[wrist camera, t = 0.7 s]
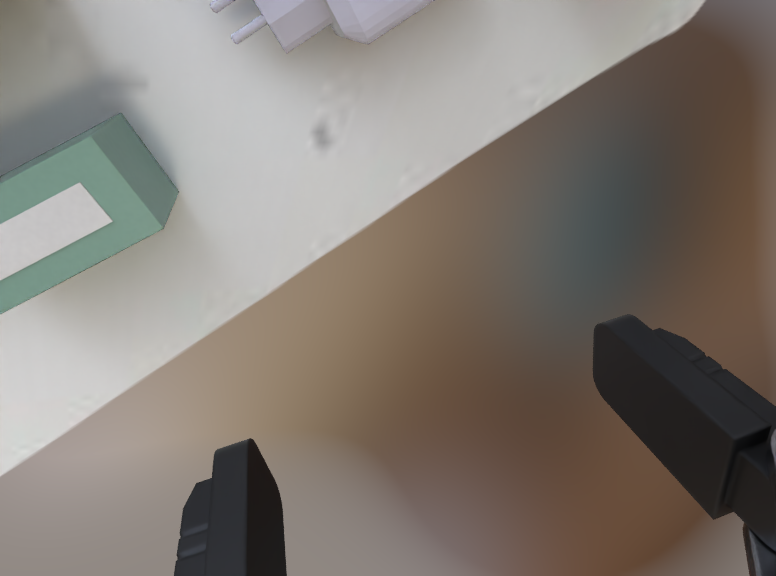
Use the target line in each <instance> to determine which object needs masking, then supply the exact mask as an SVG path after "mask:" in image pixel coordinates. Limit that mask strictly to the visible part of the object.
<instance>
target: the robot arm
mask: <svg viewBox="0 0 776 576" xmlns="http://www.w3.org/2000/svg"><path fill="white" fill-rule="evenodd" d="M593 378H594V382H595V384H596V387H597V389H598V391H599V393H600V394H601V396H602V397H603V399H604V400H605V401H606V402H607V403H608V404H609V405H610V406H611V408H612V409H613V410H614V411H615V412H616V413H617V414H618V415H619V416H620V417H621V419H622V420H623V421H624V422H625V423H626V424H627V425H628V426H629V427H630V428H631V430H632V431H633V432H634V433H635V434H636V435H637V436H638V437H639V438H640V439H641V441H642V442H643V443H644V444H645V445H646V446H647V447H648V448H649V449H650V450H651V452H652V453H653V454H654V455H655V456H656V457H657V458H658V459H659V460H660V461H661V462H662V464H663V465H664V466H665V467H666V468H667V469H668V470H669V471H670V472H671V474H672V475H673V476H674V477H675V478H676V479H677V480H678V481H679V482H680V483H681V484H682V486H683V487H684V488H685V489H686V490H687V491H688V492H689V493H690V494H691V496H692V497H693V498H694V499H695V500H696V501H697V502H698V503H699V504H700V505H701V507H702V508H703V509H704V510H705V511H706V512H707V513H708V514H709V515H710V516H711V517H712V519H716V518H719V517H721V516H724V515H726V514H729V513H731V512H735V513H736V514H737V515H738V516H739V517H740V518H741V519H742V521H744V525H743V538H744V543H745V550H746V556H747V562H748V569H749V575H750V576H776V406H774V405H773V404H772V403H770V402H769V401H768V400H766V399H765V398H764V397H762V396H761V395H760V394H758V393H757V392H756V391H754V390H753V389H752V388H750V387H749V386H748V385H746V384H745V383H744V382H742V381H741V380H740V379H738V378H737V377H736V376H734V375H733V374H732V373H730V372H729V371H728V370H726V369H722V367H721V365H720V364H718V363H717V362H716V361H715V360H713V359H712V358H710V357H709V356H708V357H706V355H705V353H704V352H702V351H701V350H700V349H699V348H697V347H696V346H695V345H693V344H692V343H690V342H689V341H688V340H687V339H685V338H683V337H680V336H678V335H676V334H673V333H671V332H668V331H666V330H663V329H661V328H658V329H655V330H652V329H650V328H649V327H648V326H646V325H645V324H644V323H643V322H641V321H640V320H639V319H638V318H636V317H635V316H633V315H630V314H627V315H624V316H621V317H618V318H615V319H612V320H609V321H606V322H603V323H600V324H597V325H596V326H595V329H594V347H593ZM180 536H181V539H179V543H178V550H177V557H178V560H177V561H176V565H175V572H174V576H287V574H286V559H285V558H286V557H285V541H284V525H283V509H282V502H281V497H280V493H279V490H278V487H277V484H276V482H275V479H274V477H273V476H272V474H271V472H270V470H269V468H268V466H267V464H266V462H265V460H264V458H263V457H262V455H261V453H260V451H259V449H258V447H257V445H256V443H255V442H254V440H253V439H251V438H250V439H247V440H244V441H241V442H238V443H235V444H232V445H229V446H226V447H223V448H220V449H217V450H216V451H215V454H214V461H213V472H212V478H210V479H208V480H204V481H202V482H199V483H196V485H195V487H194V489H193V491H192V493H191V495H190V496H189V498H188V500H187V502H186V504H185V506H184V508H183V515H182V521H181V529H180Z"/></svg>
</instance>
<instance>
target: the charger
mask: <svg viewBox="0 0 776 576" xmlns="http://www.w3.org/2000/svg"><path fill="white" fill-rule="evenodd" d="M234 1H235V0H214V1H213V2H211V3H210V7H211V9H212V10H213V11H214V12H215V13H218V12H219V11H221V10H222V9H224V8H225V7H226V6H228V5H229V4H231V3H232V2H234ZM253 1H254V2H255V4H256V6H257V7H258V9H259V11H260V12H261V15H260V16H258V17H257V18H255V19H254V20H252V21H251V22H249V23H248V24H246V25H245V26H244V27H242V28H241V29H239V30H238V31H236V32H235V33H233V34H232V35H231V39H232V40H233V42H234V43H235V44H238V43H240V42H241V41H243V40H244V39H246V38H247V37H249V36H250V35H252V34H253V33H255V32H256V31H258V30H259V29H261V28H262V27H263V26H265V25H266V24H268V25H269V27H270V28H271V30H272V32H273V33H274V35H275V36H276V38H277V40H278V41H279V43H280V44H281V46H282V48H283V49H284V51H285V52H286V53H288V52H289V51H291V50H292V49H294V48H295V47H297V46H298V45H300V44H301V43H303V42H304V41H306V40H307V39H309V38H310V37H312V36H313V35H315V34H316V33H318V32H319V31H321V30H322V29H324V28H325V27H327V26H328V25H331V27H332V29H333V30H334V32H335V33H336V35H338V36H341V37H344V38H348V39H351V40H354V41H357V42H361V43H364V44H370V43H371V42H373V41H374V40H376V39H377V38H379V37H380V36H382V35H383V34H385V33H386V32H388V31H389V30H391V29H392V28H394V27H395V26H397V25H398V24H400V23H401V22H403V21H404V20H406V19H407V18H409V17H410V16H412V15H413V14H415V13H416V12H418V11H419V10H421V9H422V8H424V7H425V6H427V5H428V4H430V3H431V2H433V1H434V0H253Z"/></svg>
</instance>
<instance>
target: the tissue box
mask: <svg viewBox="0 0 776 576" xmlns="http://www.w3.org/2000/svg"><path fill="white" fill-rule="evenodd" d="M178 193H179V191H178V190H177V189H176V187H175V186H174V185H173V183H172V182H171V180H170V179H169V178H168V176H167V175H166V174H165V172H164V171H163V169H162V168H161V167H160V165H159V164H158V163H157V161H156V160H155V159H154V157H153V156H152V154H151V153H150V152H149V150H148V149H147V148H146V146H145V145H144V144H143V142H142V141H141V139H140V138H139V137H138V135H137V134H136V133H135V131H134V130H133V129H132V127H131V126H130V124H129V123H128V122H127V120H126V119H125V118H124V116H123V115H122V114H121V113H119V114H118V115H116V116H114V117H112V118H110V119H108V120H106V121H104V122H102V123H101V124H99V125H97V126H95V127H93V128H91V129H89V130H87V131H85V132H84V133H82V134H80V135H78V136H76V137H74V138H72V139H70V140H68V141H66V142H65V143H63V144H61V145H59V146H57V147H55V148H53V149H51V150H49V151H48V152H46V153H44V154H42V155H40V156H38V157H36V158H34V159H32V160H31V161H29V162H27V163H25V164H23V165H21V166H19V167H17V168H15V169H14V170H12V171H10V172H8V173H6V174H4V175H2V176H0V314H2V313H4V312H6V311H8V310H10V309H11V308H13V307H15V306H17V305H19V304H21V303H23V302H25V301H27V300H29V299H31V298H32V297H34V296H36V295H38V294H40V293H42V292H44V291H46V290H48V289H50V288H51V287H53V286H55V285H57V284H59V283H61V282H63V281H65V280H67V279H69V278H71V277H72V276H74V275H76V274H78V273H80V272H82V271H84V270H86V269H88V268H90V267H92V266H93V265H95V264H97V263H99V262H101V261H103V260H105V259H107V258H109V257H111V256H113V255H114V254H116V253H118V252H120V251H122V250H124V249H126V248H128V247H130V246H132V245H133V244H135V243H137V242H139V241H141V240H143V239H145V238H147V237H149V236H151V235H153V234H154V233H156V232H158V231H160V230H162V229H164V227H165V224H166V222H167V219H168V217H169V215H170V212H171V210H172V207H173V205H174V203H175V200H176V198H177V195H178Z"/></svg>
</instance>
